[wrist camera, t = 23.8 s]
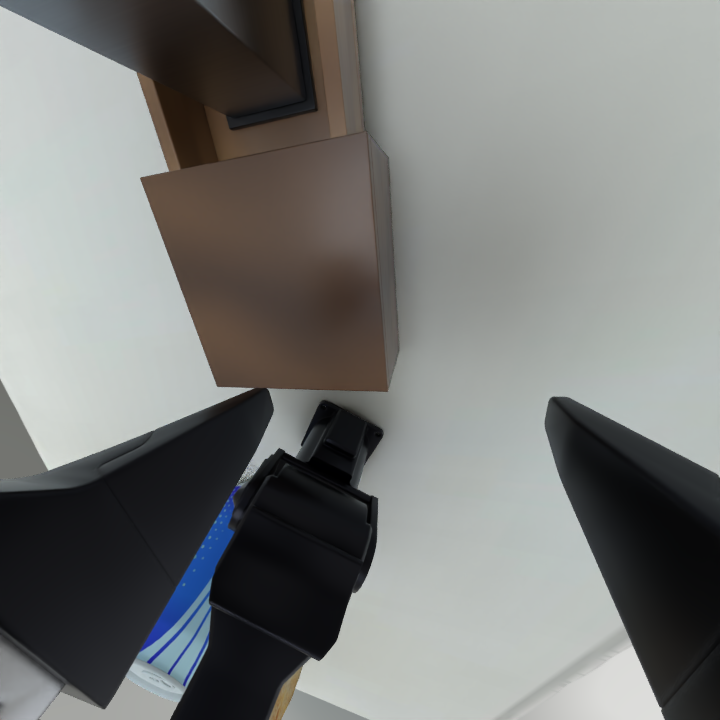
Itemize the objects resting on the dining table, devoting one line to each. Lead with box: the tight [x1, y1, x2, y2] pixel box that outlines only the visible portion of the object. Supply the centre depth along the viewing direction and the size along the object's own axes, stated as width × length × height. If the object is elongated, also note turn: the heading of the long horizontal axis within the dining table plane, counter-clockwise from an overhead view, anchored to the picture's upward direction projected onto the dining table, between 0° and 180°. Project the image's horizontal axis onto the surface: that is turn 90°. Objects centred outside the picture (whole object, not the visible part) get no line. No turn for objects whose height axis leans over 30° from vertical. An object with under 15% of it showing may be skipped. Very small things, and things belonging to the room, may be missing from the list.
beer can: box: [125, 482, 246, 702], centre depth 29 cm, size 8×8×16 cm
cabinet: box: [140, 131, 399, 392], centre depth 19 cm, size 13×12×6 cm
